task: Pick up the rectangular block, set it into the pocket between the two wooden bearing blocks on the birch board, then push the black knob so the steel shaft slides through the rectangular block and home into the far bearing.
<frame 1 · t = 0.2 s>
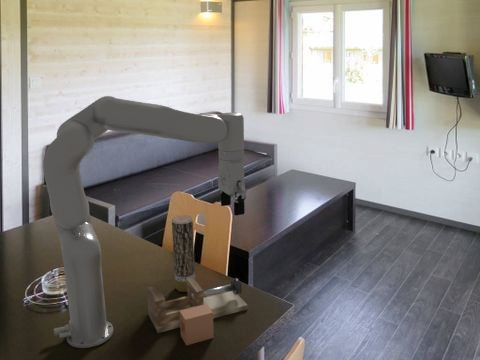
hand: (232, 209, 139), 31 cm above the table, tool pointing down, fingers open, 9 cm apart
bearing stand: (192, 313, 140), on the table
shaft: (215, 291, 141), point 5 cm above the table, slide at 0.0 cm
rectangular block: (197, 336, 128), on the table
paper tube: (185, 288, 155), on the table
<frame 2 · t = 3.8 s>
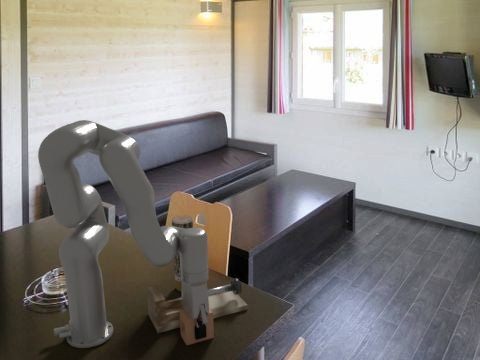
hand: (197, 331, 127), 1 cm above the table, tool pointing down, fingers closed on rectangular block, 5 cm apart
rectangular block: (197, 336, 128), on the table, touching gripper
everything else where it was.
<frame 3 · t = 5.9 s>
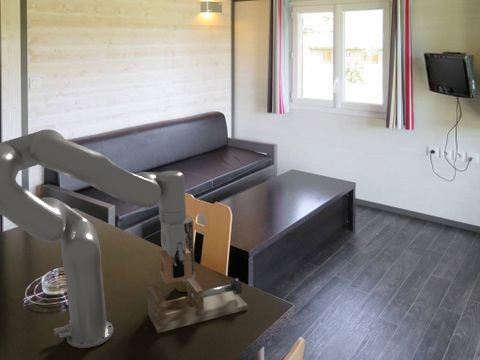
hand: (175, 272, 134), 15 cm above the table, tool pointing down, fingers closed on rectangular block, 5 cm apart
rectangular block: (176, 276, 134), point 13 cm above the table, touching gripper
everything else where it was.
when the fingers open (5 cm above the table, at t = 8.0 s): rectangular block drops 2 cm, resting on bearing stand.
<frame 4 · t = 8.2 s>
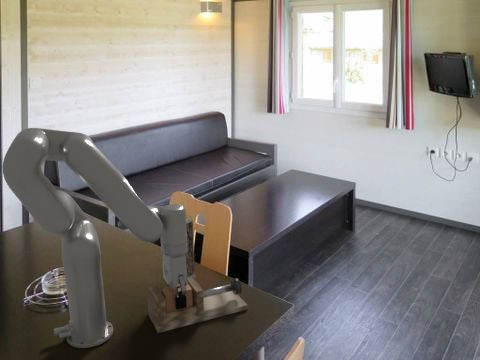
hand: (177, 301, 136), 5 cm above the table, tool pointing down, fingers open, 7 cm apart
rectangular block: (177, 312, 137), point 1 cm above the table, touching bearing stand
everything else where it was.
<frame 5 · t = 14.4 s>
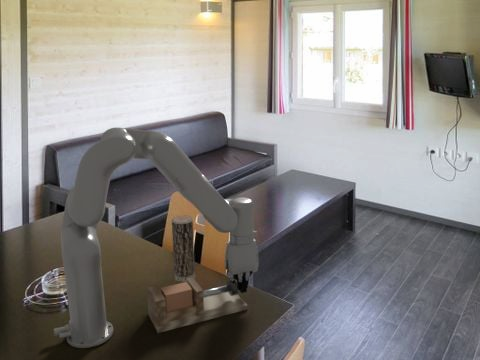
hand: (242, 290, 146), 3 cm above the table, tool pointing down, fingers closed
shaft: (211, 292, 141), point 6 cm above the table, slide at 1.4 cm, touching gripper
everything else where it was.
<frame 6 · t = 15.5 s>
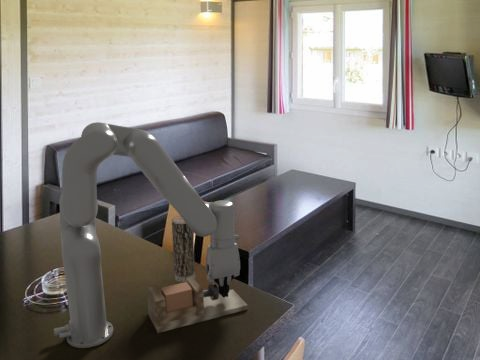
hand: (223, 295, 143), 4 cm above the table, tool pointing down, fingers closed
shaft: (192, 297, 138), point 5 cm above the table, slide at 7.8 cm, touching gripper
everything else where it was.
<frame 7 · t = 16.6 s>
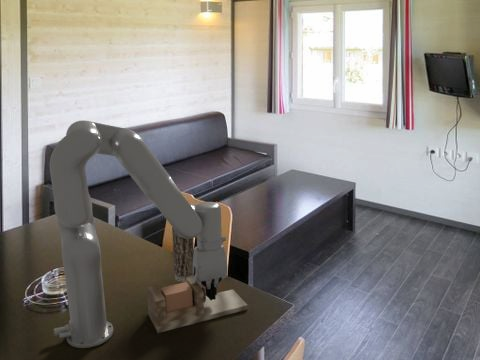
hand: (211, 297, 141), 4 cm above the table, tool pointing down, fingers closed
shaft: (178, 300, 136), point 6 cm above the table, slide at 12.0 cm, touching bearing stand, gripper
everything else where it was.
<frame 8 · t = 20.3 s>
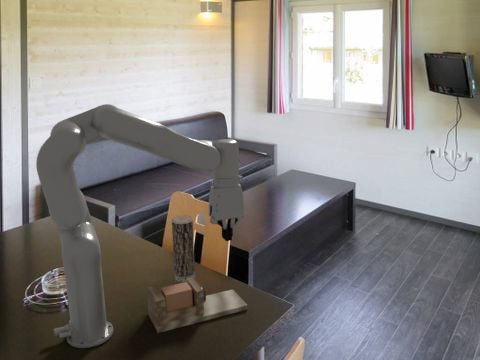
hand: (227, 239, 139), 22 cm above the table, tool pointing down, fingers closed
shaft: (178, 300, 136), point 6 cm above the table, slide at 12.0 cm, touching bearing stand
everything else where it was.
at the end: shaft slide at 12.0 cm; rectangular block 0.1 cm from the target spot on the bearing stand, point 1.5 cm above the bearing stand's base; rectangular block tilted 0° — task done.
